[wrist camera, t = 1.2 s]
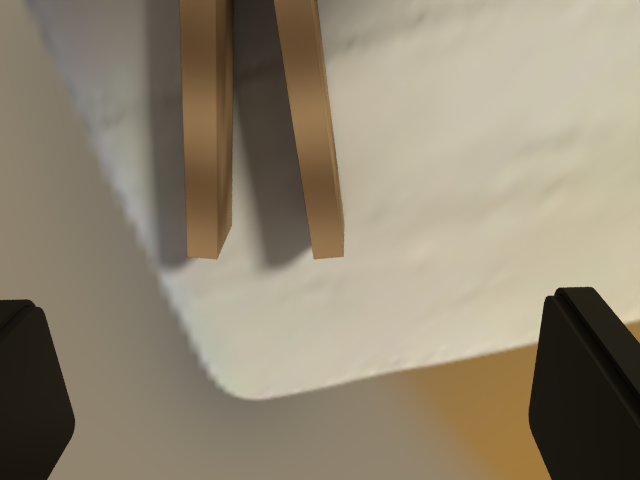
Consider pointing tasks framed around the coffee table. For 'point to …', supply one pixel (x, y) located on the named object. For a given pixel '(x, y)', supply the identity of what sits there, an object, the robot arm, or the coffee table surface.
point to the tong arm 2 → (312, 123)
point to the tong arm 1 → (207, 122)
